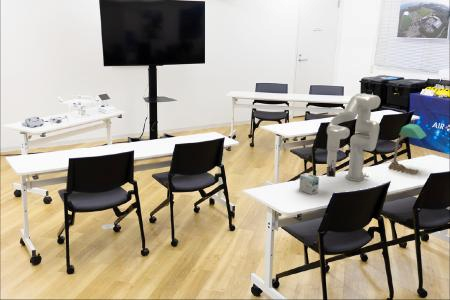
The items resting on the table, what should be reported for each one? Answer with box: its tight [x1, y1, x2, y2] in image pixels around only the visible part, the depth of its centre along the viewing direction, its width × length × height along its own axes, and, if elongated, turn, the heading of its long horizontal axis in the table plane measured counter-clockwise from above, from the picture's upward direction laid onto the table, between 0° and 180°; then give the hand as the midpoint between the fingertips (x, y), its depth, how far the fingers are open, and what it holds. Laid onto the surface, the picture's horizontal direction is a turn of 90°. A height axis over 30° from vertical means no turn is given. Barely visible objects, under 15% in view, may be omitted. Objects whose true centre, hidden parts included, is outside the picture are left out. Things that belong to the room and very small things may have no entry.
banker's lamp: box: [387, 123, 427, 175], centre depth 334 cm, size 16×21×35 cm
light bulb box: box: [298, 172, 320, 195], centre depth 291 cm, size 11×7×11 cm, turn 40°
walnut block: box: [325, 166, 336, 178], centre depth 288 cm, size 5×5×5 cm
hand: (330, 174), depth 289 cm, fingers closed on walnut block, 4 cm apart
